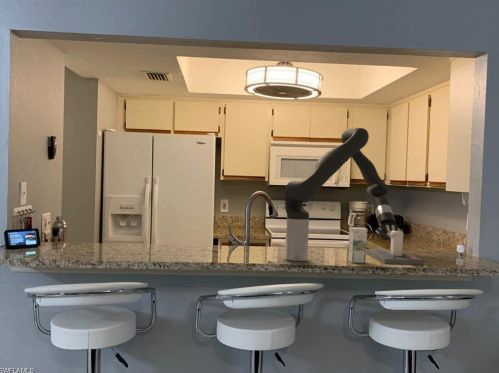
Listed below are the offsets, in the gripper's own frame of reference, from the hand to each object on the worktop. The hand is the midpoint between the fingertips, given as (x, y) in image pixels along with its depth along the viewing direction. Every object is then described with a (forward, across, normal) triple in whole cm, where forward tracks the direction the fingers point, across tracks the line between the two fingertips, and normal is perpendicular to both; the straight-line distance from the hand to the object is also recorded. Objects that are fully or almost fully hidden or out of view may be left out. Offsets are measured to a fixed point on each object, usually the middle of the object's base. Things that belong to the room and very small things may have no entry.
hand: (394, 246), depth 178 cm
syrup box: (+10, -19, -1) cm, 21 cm away
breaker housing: (+3, 0, +5) cm, 6 cm away
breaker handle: (+4, 0, +1) cm, 4 cm away
